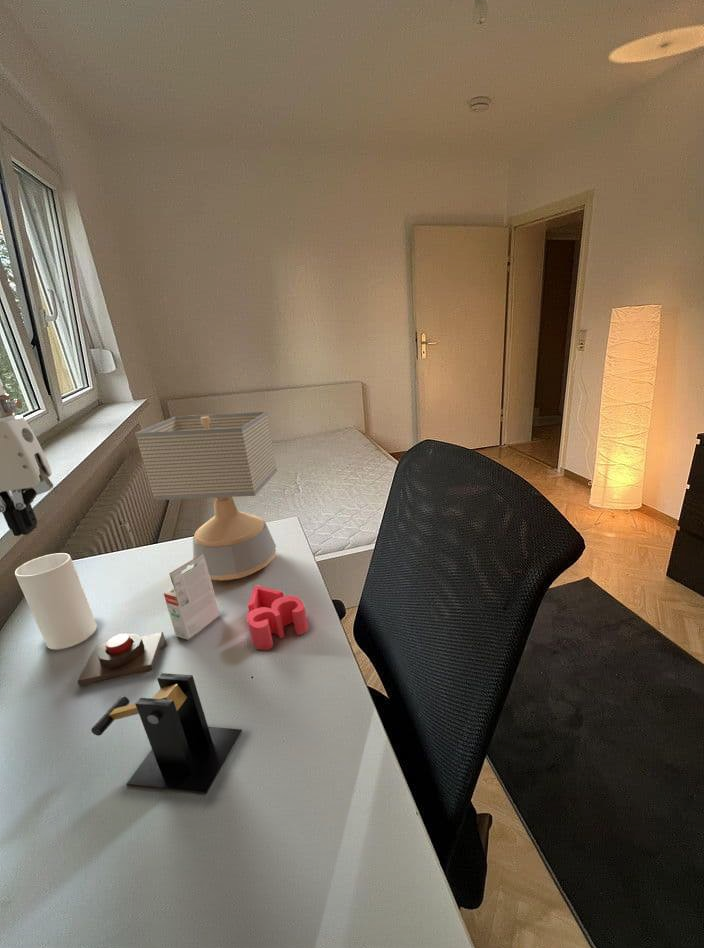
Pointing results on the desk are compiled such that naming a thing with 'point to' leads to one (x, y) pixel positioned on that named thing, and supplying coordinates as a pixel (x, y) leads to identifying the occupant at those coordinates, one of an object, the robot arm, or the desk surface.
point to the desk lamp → (216, 482)
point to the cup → (56, 600)
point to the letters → (273, 615)
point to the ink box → (191, 599)
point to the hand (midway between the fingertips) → (26, 531)
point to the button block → (123, 660)
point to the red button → (118, 644)
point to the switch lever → (125, 710)
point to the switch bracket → (181, 741)
